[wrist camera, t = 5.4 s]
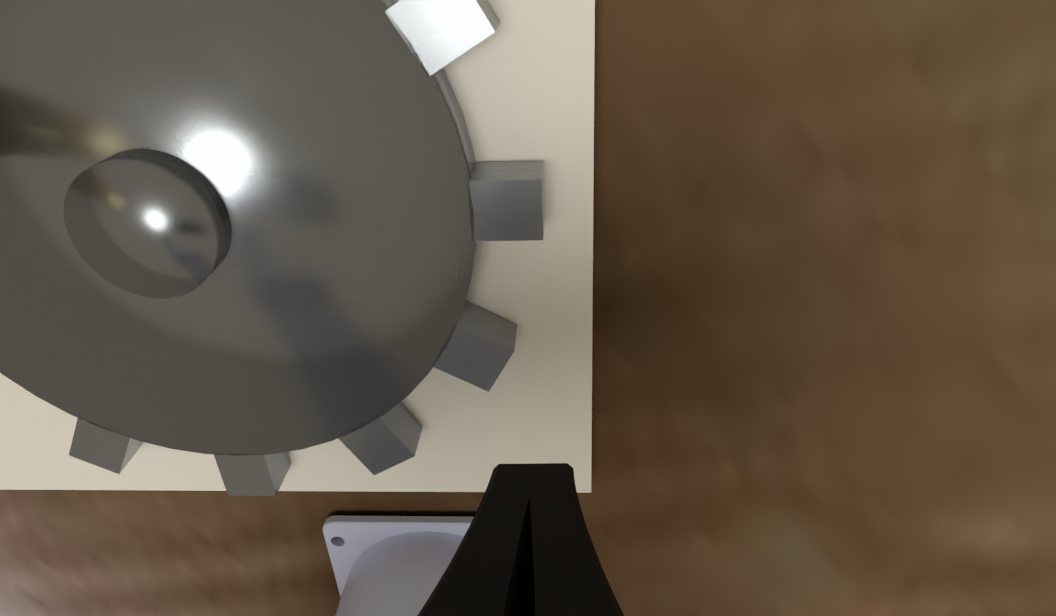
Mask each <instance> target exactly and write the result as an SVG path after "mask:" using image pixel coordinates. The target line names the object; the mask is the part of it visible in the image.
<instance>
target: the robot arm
mask: <svg viewBox="0 0 1056 616" xmlns="http://www.w3.org/2000/svg"><path fill="white" fill-rule="evenodd" d="M323 534H324V538H325V542H326V545H327V549H328V553H329V556H330V560H331V564H332V568H333V571H334V575H335V579H336V583H337V586H338V590H339V594H340V597H341V599H340V602H339V605H338V608H337V611H336V614H335V616H624V615H623V613H622V611H621V609H620V607H619V604H618V602H617V600H616V598H615V596H614V594H613V592H612V589H611V587H610V585H609V583H608V581H607V578H606V576H605V574H604V571H603V569H602V567H601V564H600V562H599V559H598V556H597V554H596V551H595V549H594V546H593V544H592V541H591V538H590V536H589V533H588V530H587V527H586V524H585V521H584V517H583V514H582V511H581V507H580V504H579V500H578V496H577V491H576V486H575V480H574V468H573V467H571V466H570V465H569V464H568V463H537V464H499V465H497V466H496V467H495V468H494V469H493V472H492V475H491V478H490V481H489V483H488V486H487V488H486V491H485V493H484V496H483V498H482V501H481V503H480V505H479V507H478V509H477V511H476V514H475V516H474V517H465V516H330V517H329V518H327V519H326V521H325V523H324V525H323ZM339 537H341V538H339Z"/></svg>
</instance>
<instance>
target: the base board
mask: <svg viewBox="0 0 1056 616" xmlns="http://www.w3.org/2000/svg"><path fill="white" fill-rule="evenodd" d="M398 1H400V0H398ZM487 1H488V2H489V4H490V6H491V7H492V9H493V11H494V12H495V14H496V16H497V17H498V19H499V20H500V24H499V26H498V28H497V30H496V31H495V32H494V33H493V34H491V35H490V36H489V37H487V38H486V39H484V40H483V41H481V42H480V43H478V44H477V45H475V46H474V47H472V48H471V49H469V50H468V51H466V52H465V53H463V54H462V55H460V56H459V57H457V58H456V59H454V60H453V61H451V62H450V63H449V64H447V65H446V66H444V67H443V69H444V71H445V73H446V75H447V77H448V80H449V82H450V85H451V87H452V89H453V92H454V94H455V96H456V99H457V101H458V103H459V106H460V108H461V110H462V113H463V116H464V120H465V123H466V127H467V130H468V134H469V137H470V141H471V144H472V148H473V151H474V156H475V162H503V161H543V175H544V208H545V223H544V237H543V240H531V241H478V247H477V254H476V262H475V266H474V270H473V274H472V278H471V282H470V286H469V289H468V293H467V296H466V299H465V301H468V302H470V303H472V304H474V305H476V306H478V307H480V308H482V309H485V310H487V311H489V312H491V313H493V314H495V315H497V316H499V317H501V318H504V319H506V320H508V321H510V322H512V323H514V324H516V325H517V332H516V340H515V349H514V353H513V354H512V356H511V358H510V359H509V361H508V362H507V364H506V365H505V367H504V369H503V370H502V372H501V373H500V375H499V377H498V378H497V380H496V381H495V383H494V384H493V386H492V388H491V389H490V391H489V392H488V391H486V390H483V389H481V388H479V387H477V386H474V385H472V384H470V383H468V382H465V381H463V380H461V379H459V378H456V377H454V376H452V375H450V374H447V373H445V372H443V371H441V370H439V369H436V368H434V367H433V368H432V370H431V371H430V373H429V374H428V375H427V376H426V377H425V378H424V379H423V380H422V381H421V382H420V384H419V385H418V386H417V387H416V388H415V389H414V390H413V391H412V392H411V393H410V394H409V395H408V396H407V397H406V398H405V399H403V400H402V401H401V403H402V404H403V405H404V406H405V407H406V408H407V409H408V411H409V412H410V413H411V414H412V415H413V416H414V417H415V418H416V420H417V421H418V422H419V423H420V424H421V425H422V426H423V427H422V431H421V435H420V438H419V442H418V446H417V449H416V453H415V456H414V457H412V458H410V459H408V460H406V461H404V462H402V463H400V464H397V465H395V466H393V467H391V468H389V469H387V470H385V471H383V472H380V473H378V474H376V475H373V474H372V473H371V472H370V471H369V470H368V469H367V468H366V467H365V466H364V465H363V463H362V462H361V461H360V460H359V459H358V458H357V457H356V456H355V455H354V454H353V453H352V452H351V451H350V450H349V449H348V448H347V447H346V446H345V445H344V444H343V443H342V442H341V441H340V440H339V439H335V440H333V441H330V442H326V443H323V444H319V445H316V446H312V447H309V448H305V449H301V450H295V451H289V452H287V454H288V457H289V461H290V464H291V466H290V468H289V470H288V472H287V474H286V476H285V478H284V480H283V482H282V484H281V487H280V489H279V491H374V492H485V491H486V488H487V486H488V483H489V481H490V478H491V475H492V472H493V469H494V468H495V467H496V466H497V465H499V464H537V463H568V464H569V465H570V466H571V467H573V468H574V480H575V486H576V491H577V493H591V455H592V320H593V185H594V50H595V0H487ZM77 419H78V418H77V417H75V416H72V415H70V414H68V413H66V412H64V411H63V410H61V409H59V408H57V407H55V406H53V405H51V404H50V403H48V402H46V401H44V400H42V399H40V398H38V397H37V396H35V395H33V394H32V393H30V392H29V391H27V390H26V389H24V388H23V387H21V386H19V385H18V384H16V383H15V382H13V381H12V380H10V379H9V378H7V377H6V376H4V375H3V374H1V373H0V489H8V490H191V491H226V488H225V485H224V483H223V480H222V477H221V474H220V471H219V468H218V466H217V463H216V460H215V457H214V454H202V453H195V452H189V451H182V450H175V449H170V448H166V447H162V446H158V445H154V444H149V443H145V442H143V444H142V446H141V447H140V448H139V450H138V451H137V452H136V453H135V455H134V456H133V457H132V459H131V460H130V461H129V462H128V464H127V465H126V466H125V468H124V469H123V470H122V471H121V473H120V474H117V473H114V472H112V471H109V470H106V469H104V468H101V467H98V466H96V465H93V464H90V463H88V462H85V461H82V460H80V459H77V458H74V457H72V456H69V452H70V448H71V444H72V439H73V435H74V431H75V427H76V423H77Z"/></svg>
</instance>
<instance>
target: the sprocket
mask: <svg viewBox="0 0 1056 616" xmlns="http://www.w3.org/2000/svg"><path fill="white" fill-rule="evenodd" d="M499 24H500V20H499V19H498V17H497V16H496V14H495V12H494V11H493V9H492V7H491V6H490V4H489V2H488V1H487V0H400V1H398V0H0V373H1V374H3V375H4V376H6V377H7V378H9V379H10V380H12V381H13V382H15V383H16V384H18V385H19V386H21V387H23V388H24V389H26V390H27V391H29V392H30V393H32V394H33V395H35V396H37V397H38V398H40V399H42V400H44V401H46V402H48V403H50V404H51V405H53V406H55V407H57V408H59V409H61V410H63V411H64V412H66V413H68V414H70V415H72V416H75V417H77V418H78V419H77V423H76V427H75V431H74V435H73V439H72V444H71V448H70V452H69V456H72V457H74V458H77V459H80V460H82V461H85V462H88V463H90V464H93V465H96V466H98V467H101V468H104V469H106V470H109V471H112V472H114V473H117V474H120V473H121V471H122V470H123V469H124V468H125V466H126V465H127V464H128V462H129V461H130V460H131V459H132V457H133V456H134V455H135V453H136V452H137V451H138V450H139V448H140V447H141V446H142V444H143V442H145V443H149V444H154V445H158V446H162V447H166V448H170V449H175V450H182V451H189V452H195V453H202V454H214V457H215V460H216V463H217V466H218V468H219V471H220V474H221V477H222V480H223V483H224V485H225V488H226V491H227V494H228V495H251V496H276V495H277V493H278V491H279V489H280V487H281V484H282V482H283V480H284V478H285V476H286V474H287V472H288V470H289V468H290V466H291V464H290V461H289V457H288V454H287V452H289V451H295V450H301V449H305V448H309V447H312V446H316V445H319V444H323V443H326V442H330V441H333V440H335V439H339V440H340V441H341V442H342V443H343V444H344V445H345V446H346V447H347V448H348V449H349V450H350V451H351V452H352V453H353V454H354V455H355V456H356V457H357V458H358V459H359V460H360V461H361V462H362V463H363V465H364V466H365V467H366V468H367V469H368V470H369V471H370V472H371V473H372V474H373V475H376V474H378V473H380V472H383V471H385V470H387V469H389V468H391V467H393V466H395V465H397V464H400V463H402V462H404V461H406V460H408V459H410V458H412V457H414V456H415V453H416V449H417V446H418V442H419V438H420V435H421V431H422V427H423V426H422V425H421V424H420V423H419V422H418V421H417V420H416V418H415V417H414V416H413V415H412V414H411V413H410V412H409V411H408V409H407V408H406V407H405V406H404V405H403V404H402V403H401V401H402V400H403V399H405V398H406V397H407V396H408V395H409V394H410V393H411V392H412V391H413V390H414V389H415V388H416V387H417V386H418V385H419V384H420V382H421V381H422V380H423V379H424V378H425V377H426V376H427V375H428V374H429V373H430V371H431V370H432V368H433V367H434V368H436V369H439V370H441V371H443V372H445V373H447V374H450V375H452V376H454V377H456V378H459V379H461V380H463V381H465V382H468V383H470V384H472V385H474V386H477V387H479V388H481V389H483V390H486V391H488V392H489V391H490V389H491V388H492V386H493V384H494V383H495V381H496V380H497V378H498V377H499V375H500V373H501V372H502V370H503V369H504V367H505V365H506V364H507V362H508V361H509V359H510V358H511V356H512V354H513V353H514V349H515V340H516V332H517V325H516V324H514V323H512V322H510V321H508V320H506V319H504V318H501V317H499V316H497V315H495V314H493V313H491V312H489V311H487V310H485V309H482V308H480V307H478V306H476V305H474V304H472V303H470V302H468V301H465V299H466V296H467V293H468V289H469V286H470V282H471V278H472V274H473V270H474V266H475V262H476V254H477V247H478V241H531V240H543V237H544V223H545V208H544V175H543V161H503V162H475V156H474V151H473V148H472V144H471V141H470V137H469V134H468V130H467V127H466V123H465V120H464V116H463V113H462V110H461V108H460V106H459V103H458V101H457V99H456V96H455V94H454V92H453V89H452V87H451V85H450V82H449V80H448V77H447V75H446V73H445V71H444V69H443V67H444V66H446V65H447V64H449V63H450V62H451V61H453V60H454V59H456V58H457V57H459V56H460V55H462V54H463V53H465V52H466V51H468V50H469V49H471V48H472V47H474V46H475V45H477V44H478V43H480V42H481V41H483V40H484V39H486V38H487V37H489V36H490V35H491V34H493V33H494V32H495V31H496V30H497V28H498V26H499Z"/></svg>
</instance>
